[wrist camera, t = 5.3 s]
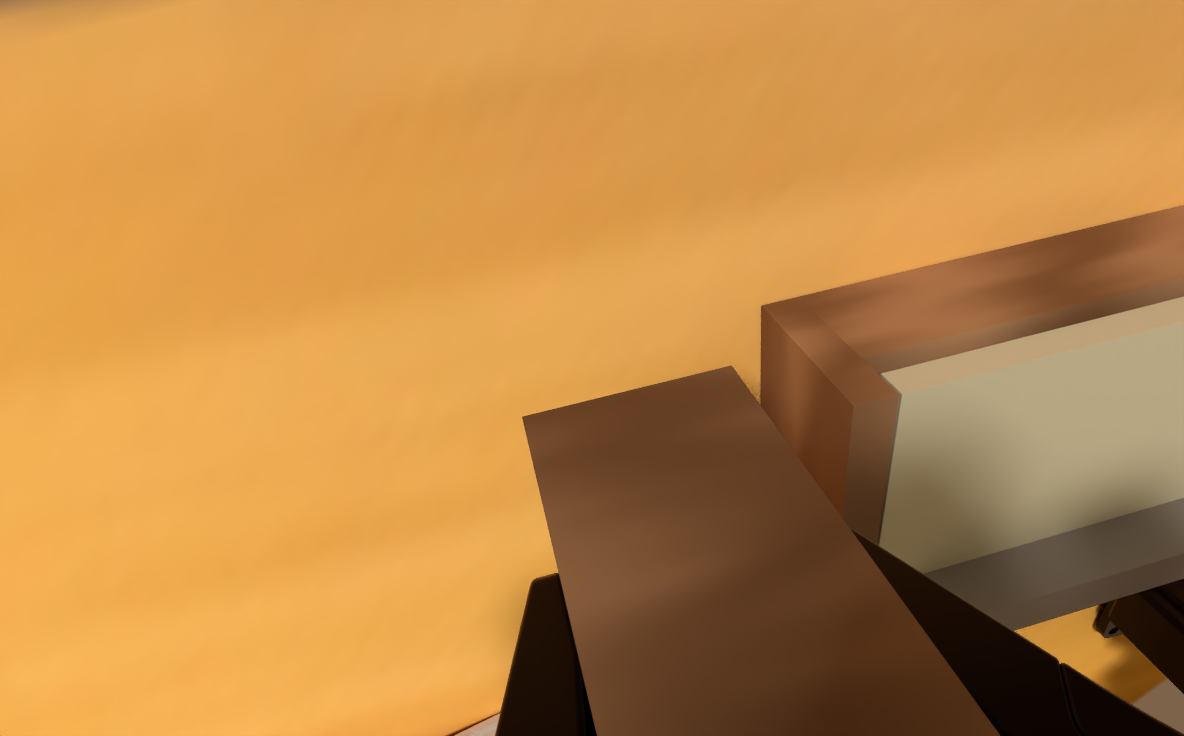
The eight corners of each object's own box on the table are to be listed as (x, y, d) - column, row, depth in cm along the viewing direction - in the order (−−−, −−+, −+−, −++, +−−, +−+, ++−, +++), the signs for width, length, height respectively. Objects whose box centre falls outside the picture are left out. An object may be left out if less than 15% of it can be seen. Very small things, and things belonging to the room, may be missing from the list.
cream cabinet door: (1322, 261, 17) (1440, 305, 15) (1195, 508, 21) (1272, 566, 19) (880, 373, 15) (948, 437, 13) (850, 611, 20) (896, 682, 18)
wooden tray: (1238, 192, 19) (1430, 256, 16) (1136, 439, 24) (1264, 530, 21) (761, 305, 18) (853, 406, 14) (759, 544, 23) (826, 663, 19)
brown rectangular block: (731, 365, 10) (1130, 915, 5) (734, 514, 12) (1025, 1043, 7) (522, 416, 10) (676, 1076, 4) (557, 562, 12) (699, 1164, 6)
